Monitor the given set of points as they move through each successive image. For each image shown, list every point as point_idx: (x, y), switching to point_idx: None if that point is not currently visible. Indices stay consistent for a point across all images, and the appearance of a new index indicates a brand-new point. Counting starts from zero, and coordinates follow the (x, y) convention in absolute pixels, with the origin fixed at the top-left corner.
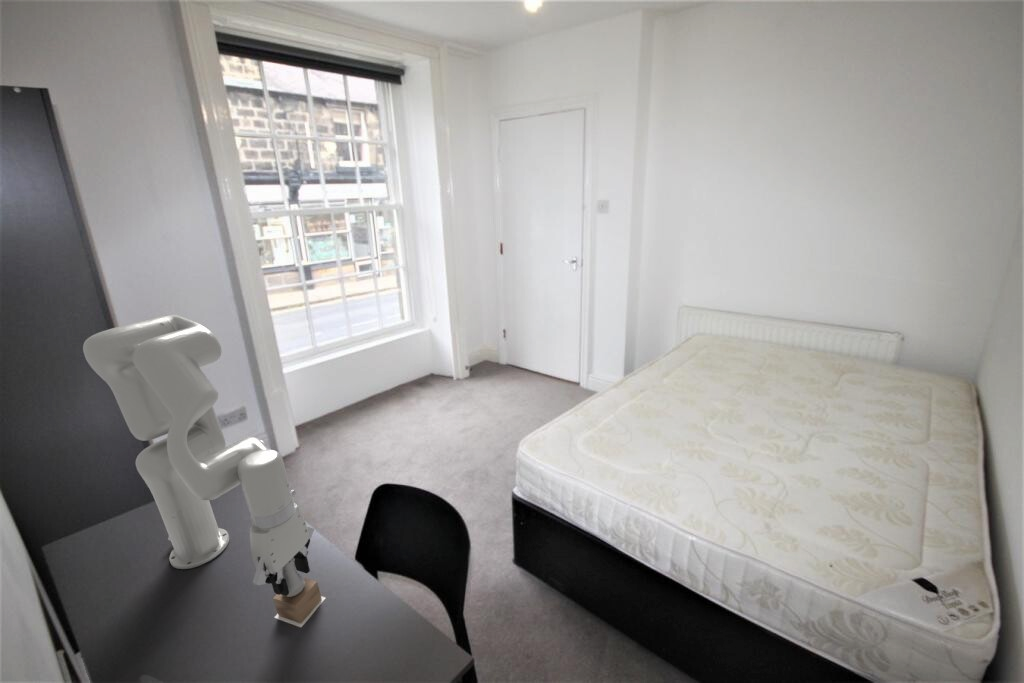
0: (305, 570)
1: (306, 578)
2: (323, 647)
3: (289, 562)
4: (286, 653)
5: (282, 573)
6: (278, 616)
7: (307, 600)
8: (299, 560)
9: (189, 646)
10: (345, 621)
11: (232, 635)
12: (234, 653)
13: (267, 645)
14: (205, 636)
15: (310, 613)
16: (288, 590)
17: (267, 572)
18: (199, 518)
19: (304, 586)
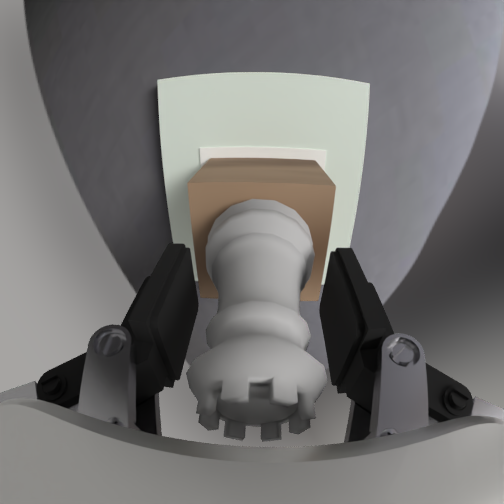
0: (322, 318)
1: (325, 254)
2: (201, 311)
3: (250, 425)
4: (152, 249)
5: (208, 337)
6: (208, 159)
7: None
8: (340, 353)
9: (76, 8)
10: None
11: (124, 65)
12: (94, 124)
13: (142, 187)
14: (103, 8)
15: None
16: (194, 317)
17: (83, 392)
18: None
19: None
